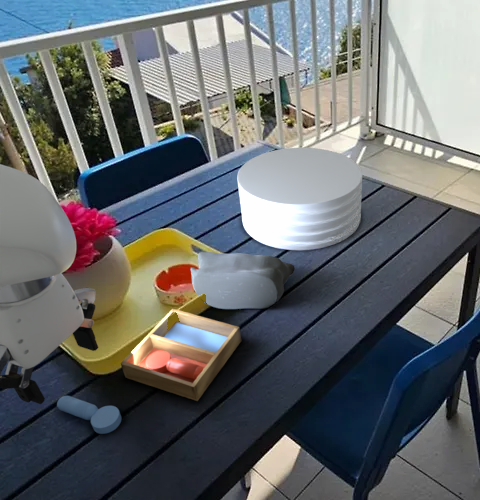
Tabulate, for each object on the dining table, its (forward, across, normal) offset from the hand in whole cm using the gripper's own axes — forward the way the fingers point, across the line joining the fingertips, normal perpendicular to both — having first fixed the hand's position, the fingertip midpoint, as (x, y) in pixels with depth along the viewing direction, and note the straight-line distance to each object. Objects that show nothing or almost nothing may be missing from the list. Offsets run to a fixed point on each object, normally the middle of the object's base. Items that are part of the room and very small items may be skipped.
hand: (62, 371), depth 69 cm
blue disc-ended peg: (+8, 0, +2) cm, 9 cm away
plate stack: (+9, -62, +9) cm, 63 cm away
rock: (+9, -33, +9) cm, 35 cm away
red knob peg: (+8, -11, +9) cm, 16 cm away
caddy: (+9, -14, +9) cm, 19 cm away
